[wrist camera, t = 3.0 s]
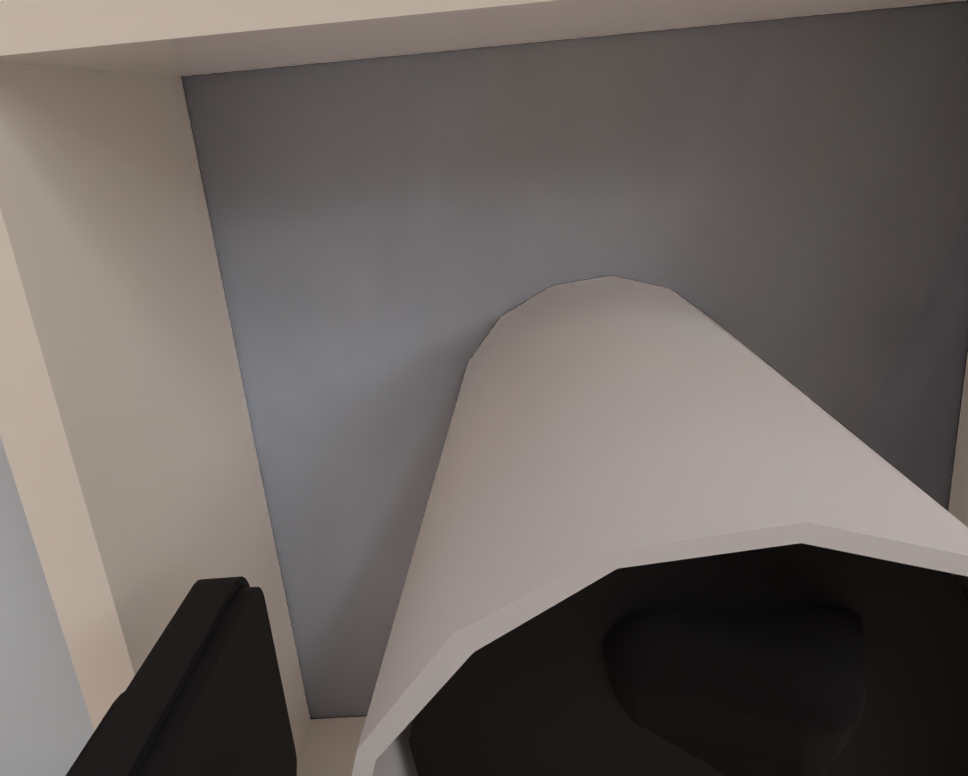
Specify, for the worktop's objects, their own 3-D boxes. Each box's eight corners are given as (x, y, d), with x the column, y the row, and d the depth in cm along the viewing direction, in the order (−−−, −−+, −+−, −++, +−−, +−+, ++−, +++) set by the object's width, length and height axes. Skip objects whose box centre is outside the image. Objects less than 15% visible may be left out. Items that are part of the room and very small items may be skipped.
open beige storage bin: (1070, -65, 13) (1516, -193, 7) (958, 713, 18) (1165, 992, 12) (125, 30, 14) (-145, -19, 8) (282, 748, 19) (187, 1024, 13)
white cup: (433, 248, 15) (307, 508, 5) (794, 256, 15) (1317, 537, 5) (434, 559, 17) (347, 1127, 8) (747, 568, 17) (1052, 1155, 8)
